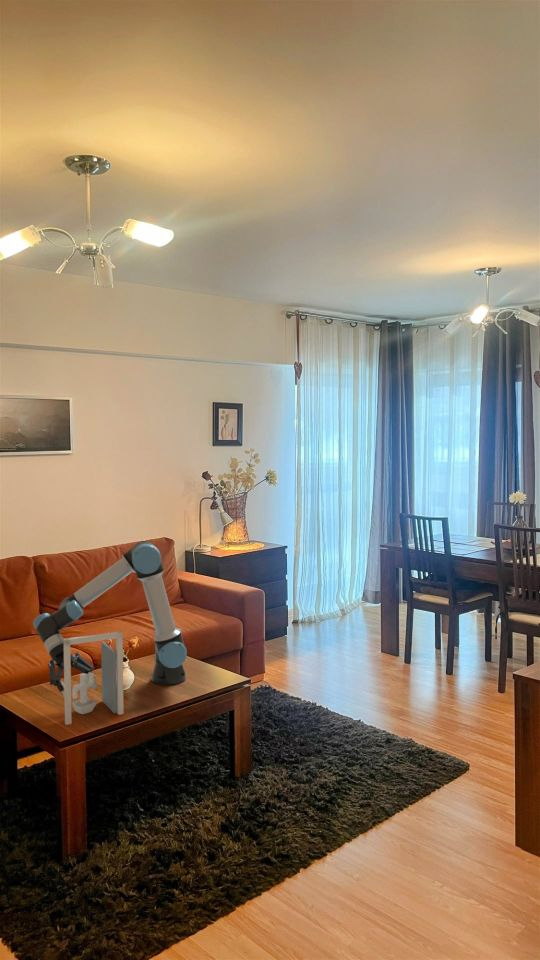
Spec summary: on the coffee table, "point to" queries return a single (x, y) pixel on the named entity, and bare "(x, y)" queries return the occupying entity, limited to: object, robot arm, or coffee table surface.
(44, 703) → the coffee table surface
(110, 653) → the door
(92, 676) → the figurine
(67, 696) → the door frame
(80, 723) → the coffee table surface
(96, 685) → the robot arm
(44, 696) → the coffee table surface
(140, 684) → the coffee table surface
